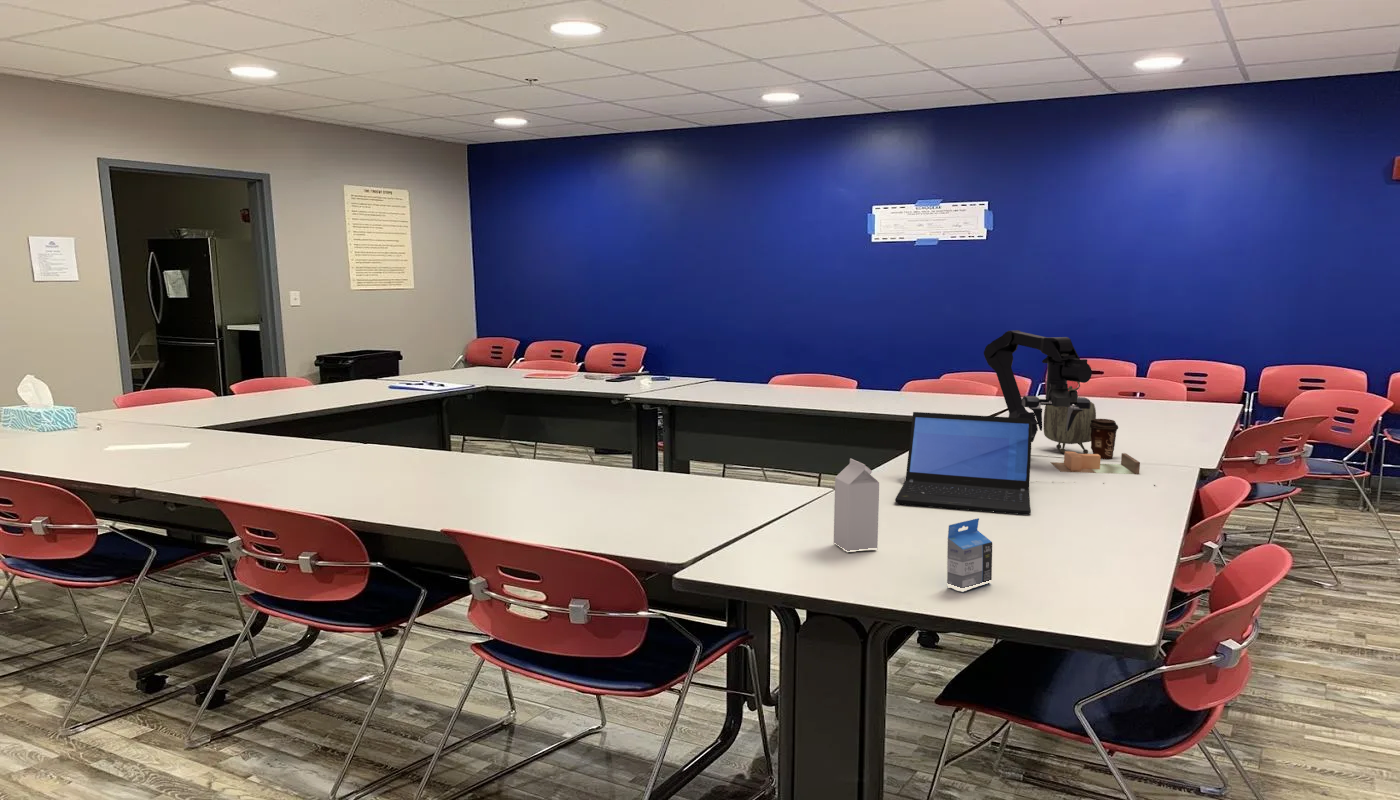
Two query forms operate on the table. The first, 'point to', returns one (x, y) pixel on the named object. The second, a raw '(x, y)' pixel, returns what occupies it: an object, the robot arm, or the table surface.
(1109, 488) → the table surface
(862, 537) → the milk carton
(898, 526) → the table surface
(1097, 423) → the coffee cup
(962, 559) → the label tape box
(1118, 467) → the board
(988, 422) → the laptop
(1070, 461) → the tee block
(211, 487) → the table surface
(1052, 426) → the tabletop clock
